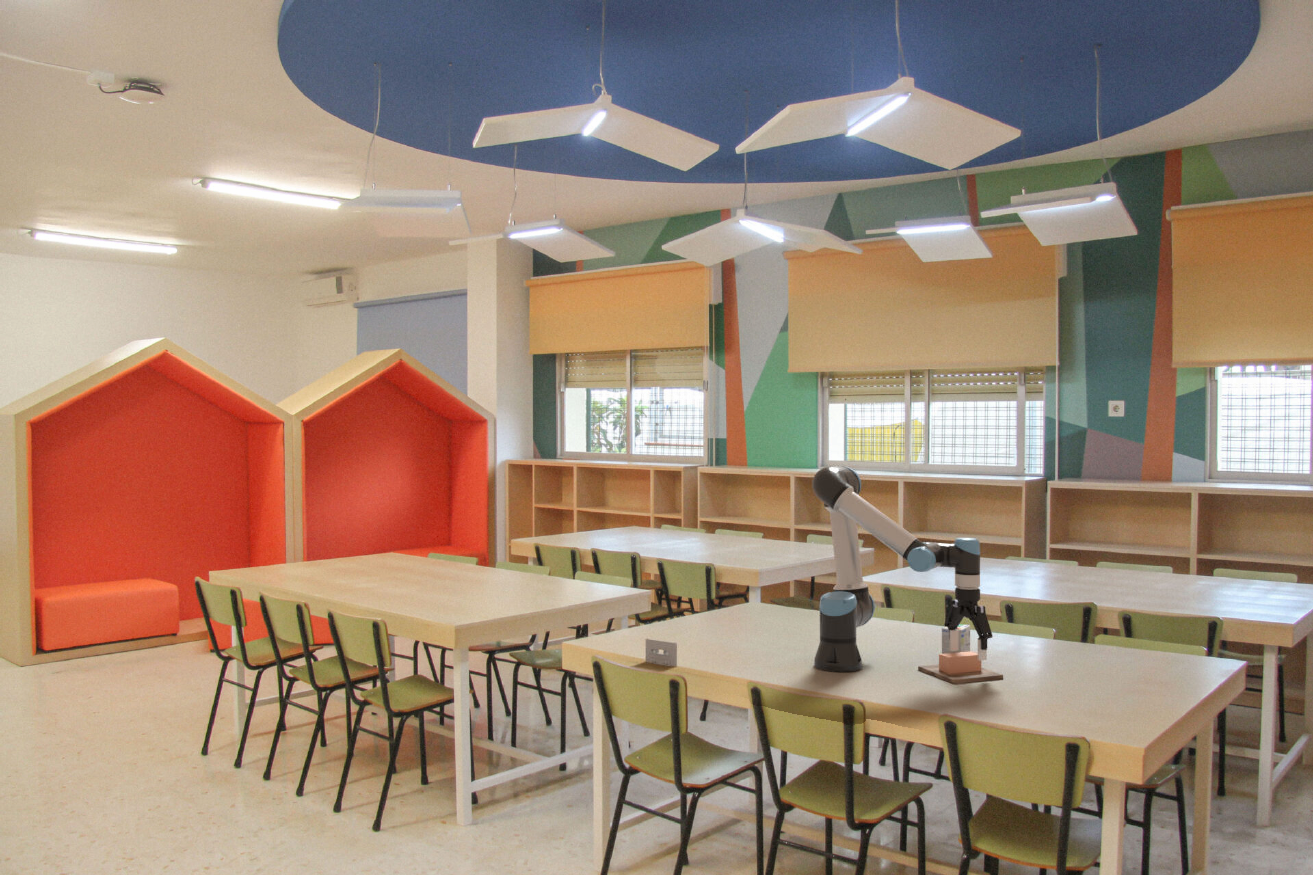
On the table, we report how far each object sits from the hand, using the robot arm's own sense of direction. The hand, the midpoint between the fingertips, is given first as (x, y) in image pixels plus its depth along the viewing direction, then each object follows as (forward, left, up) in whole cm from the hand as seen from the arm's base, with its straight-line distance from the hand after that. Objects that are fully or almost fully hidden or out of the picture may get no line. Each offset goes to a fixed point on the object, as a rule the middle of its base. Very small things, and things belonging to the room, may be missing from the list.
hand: (967, 655), depth 287 cm
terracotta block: (0, +3, -2) cm, 4 cm away
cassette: (-43, -87, -6) cm, 97 cm away
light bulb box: (-19, +10, -6) cm, 22 cm away
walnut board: (0, -3, -6) cm, 6 cm away
